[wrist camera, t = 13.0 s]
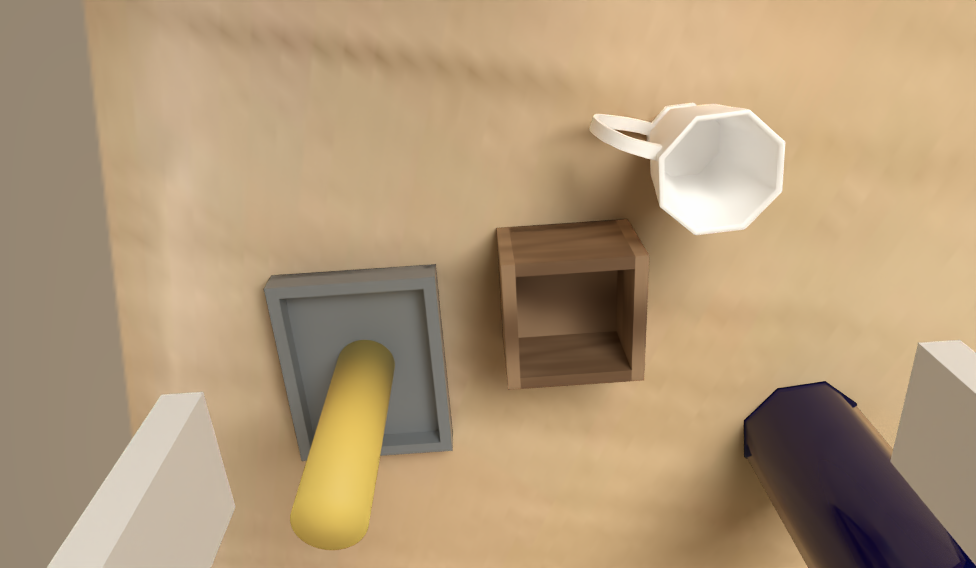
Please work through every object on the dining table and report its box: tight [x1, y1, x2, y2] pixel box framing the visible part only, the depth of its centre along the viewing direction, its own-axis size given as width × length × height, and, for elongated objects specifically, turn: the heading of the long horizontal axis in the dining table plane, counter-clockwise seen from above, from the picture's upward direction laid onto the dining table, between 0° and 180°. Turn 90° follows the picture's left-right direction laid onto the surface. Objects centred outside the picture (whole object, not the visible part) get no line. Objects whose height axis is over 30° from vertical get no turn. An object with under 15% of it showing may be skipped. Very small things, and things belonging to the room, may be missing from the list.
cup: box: [589, 103, 785, 235], centre depth 41 cm, size 7×10×8 cm
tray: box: [264, 264, 453, 461], centre depth 50 cm, size 14×11×2 cm
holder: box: [497, 219, 649, 390], centre depth 46 cm, size 9×9×6 cm
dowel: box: [290, 340, 395, 550], centre depth 43 cm, size 4×4×15 cm
